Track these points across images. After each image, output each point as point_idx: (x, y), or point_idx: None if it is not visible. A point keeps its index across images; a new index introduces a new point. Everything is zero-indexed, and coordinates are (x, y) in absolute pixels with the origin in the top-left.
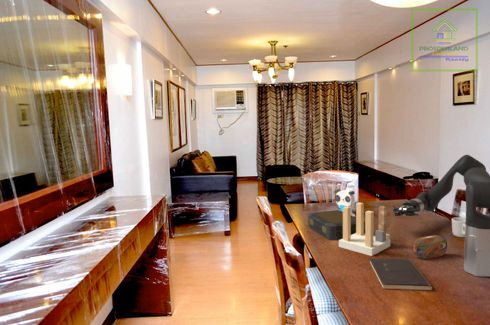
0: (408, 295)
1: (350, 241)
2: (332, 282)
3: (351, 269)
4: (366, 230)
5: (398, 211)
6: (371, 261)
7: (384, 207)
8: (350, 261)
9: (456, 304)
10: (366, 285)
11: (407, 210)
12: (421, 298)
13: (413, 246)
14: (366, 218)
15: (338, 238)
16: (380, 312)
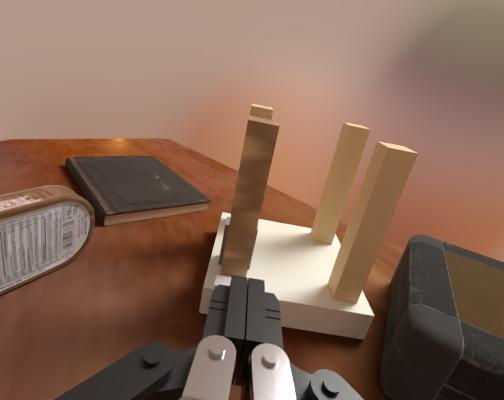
0: None
1: (305, 234)
2: (224, 166)
3: (223, 187)
4: None
5: (237, 284)
6: (197, 191)
7: (250, 117)
8: None
9: (33, 151)
10: (177, 165)
11: (146, 355)
12: (90, 155)
13: (93, 213)
14: None
15: (390, 291)
16: (143, 143)
